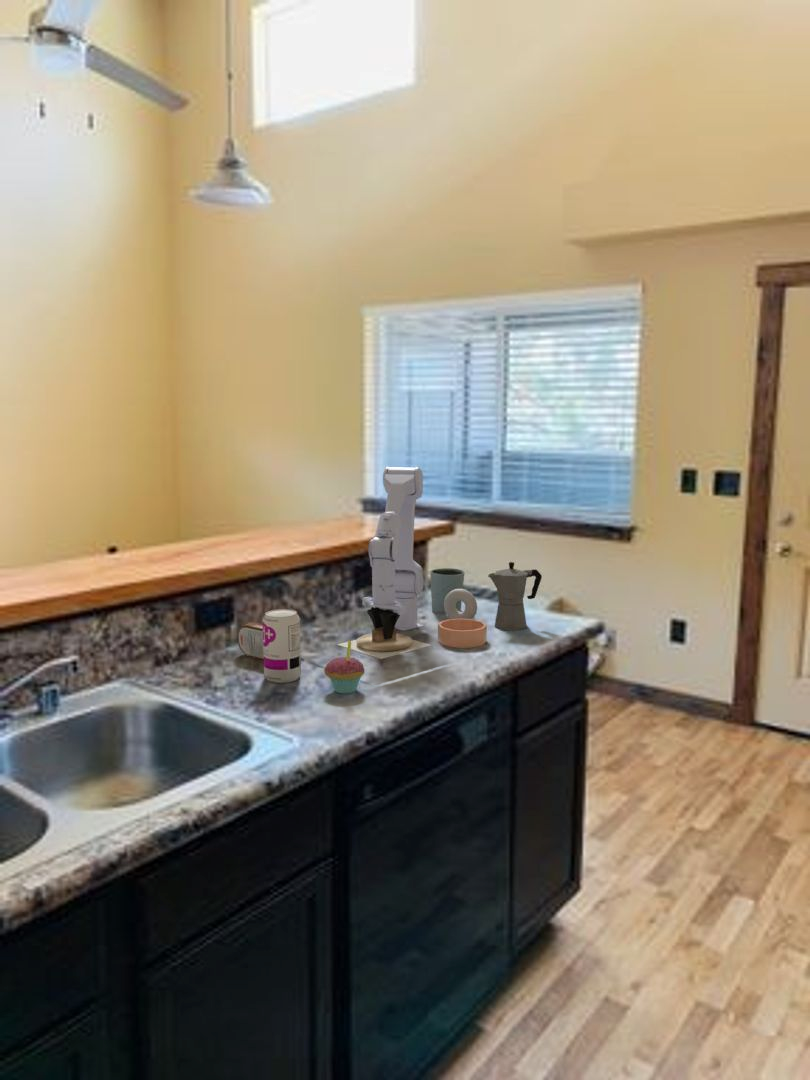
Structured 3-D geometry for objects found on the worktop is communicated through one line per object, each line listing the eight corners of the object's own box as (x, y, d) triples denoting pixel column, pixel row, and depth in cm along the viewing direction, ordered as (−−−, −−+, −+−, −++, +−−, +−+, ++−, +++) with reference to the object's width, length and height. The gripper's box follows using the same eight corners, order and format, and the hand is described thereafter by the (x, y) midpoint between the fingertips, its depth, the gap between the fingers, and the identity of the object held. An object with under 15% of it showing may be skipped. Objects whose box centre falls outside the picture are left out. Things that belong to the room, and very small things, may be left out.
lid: (345, 642, 217) (345, 628, 217) (386, 632, 227) (386, 618, 226) (381, 654, 207) (381, 639, 206) (423, 643, 216) (423, 628, 216)
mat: (336, 646, 217) (336, 644, 217) (387, 634, 229) (387, 632, 229) (381, 661, 205) (381, 658, 205) (431, 647, 216) (431, 645, 216)
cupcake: (372, 689, 185) (372, 635, 183) (343, 699, 178) (343, 643, 176) (345, 681, 190) (344, 628, 188) (316, 690, 184) (315, 636, 182)
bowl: (429, 643, 220) (429, 624, 220) (460, 634, 229) (461, 616, 228) (463, 653, 212) (463, 633, 211) (495, 643, 220) (495, 624, 219)
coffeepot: (493, 632, 231) (494, 566, 228) (482, 623, 240) (483, 560, 237) (547, 628, 234) (548, 563, 232) (534, 620, 243) (535, 557, 241)
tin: (289, 662, 204) (288, 628, 203) (279, 665, 202) (278, 631, 201) (245, 652, 213) (243, 619, 212) (235, 655, 211) (234, 621, 209)
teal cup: (431, 606, 260) (431, 567, 258) (464, 607, 259) (465, 568, 257) (429, 614, 250) (429, 574, 248) (463, 615, 249) (464, 574, 247)
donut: (479, 624, 239) (479, 589, 237) (474, 627, 236) (474, 591, 234) (447, 620, 244) (447, 585, 242) (441, 622, 241) (441, 588, 239)
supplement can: (271, 686, 187) (269, 619, 185) (259, 675, 194) (257, 611, 192) (306, 680, 191) (304, 614, 188) (293, 670, 198) (291, 607, 196)
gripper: (352, 582, 217) (353, 634, 219) (391, 591, 206) (391, 646, 209) (374, 578, 222) (374, 629, 224) (412, 587, 211) (412, 640, 213)
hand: (384, 637), depth 217 cm, fingers closed on lid, 2 cm apart
